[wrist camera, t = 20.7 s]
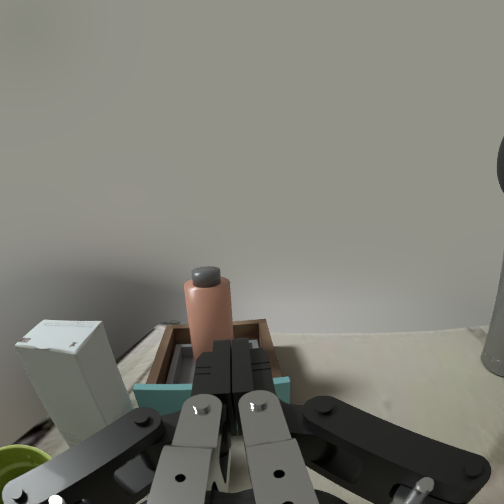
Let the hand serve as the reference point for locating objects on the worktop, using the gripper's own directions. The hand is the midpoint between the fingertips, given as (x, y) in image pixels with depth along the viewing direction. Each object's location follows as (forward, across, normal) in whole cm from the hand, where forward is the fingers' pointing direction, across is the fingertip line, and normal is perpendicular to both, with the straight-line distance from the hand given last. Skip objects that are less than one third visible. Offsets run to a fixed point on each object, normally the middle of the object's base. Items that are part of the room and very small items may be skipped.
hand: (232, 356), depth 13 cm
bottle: (+21, +4, +18) cm, 28 cm away
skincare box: (+10, +16, +19) cm, 27 cm away
